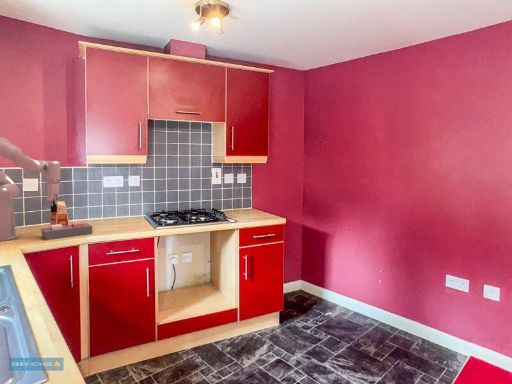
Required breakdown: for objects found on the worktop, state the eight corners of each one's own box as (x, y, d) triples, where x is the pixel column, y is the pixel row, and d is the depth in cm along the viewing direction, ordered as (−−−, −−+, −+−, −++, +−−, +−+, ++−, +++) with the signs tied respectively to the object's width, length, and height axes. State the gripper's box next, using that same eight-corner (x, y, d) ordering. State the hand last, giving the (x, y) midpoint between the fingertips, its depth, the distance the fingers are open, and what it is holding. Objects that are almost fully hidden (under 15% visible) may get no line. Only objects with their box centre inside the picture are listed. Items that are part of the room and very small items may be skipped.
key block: (41, 236, 225) (41, 228, 224) (87, 230, 242) (86, 223, 241) (45, 240, 217) (45, 231, 216) (92, 233, 233) (92, 225, 233)
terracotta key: (71, 230, 233) (71, 222, 232) (81, 229, 237) (81, 221, 236) (74, 232, 229) (73, 224, 228) (84, 230, 232) (83, 223, 232)
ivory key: (50, 233, 225) (50, 225, 225) (60, 232, 229) (60, 224, 228) (52, 235, 221) (52, 226, 220) (62, 233, 225) (62, 225, 224)
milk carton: (57, 232, 237) (55, 201, 234) (49, 230, 241) (47, 200, 239) (71, 229, 244) (69, 199, 242) (63, 227, 249) (61, 198, 247)
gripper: (43, 180, 224) (44, 210, 226) (49, 183, 213) (49, 214, 215) (57, 180, 229) (57, 209, 231) (63, 182, 218) (63, 213, 220)
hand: (53, 212), depth 223 cm, fingers closed
